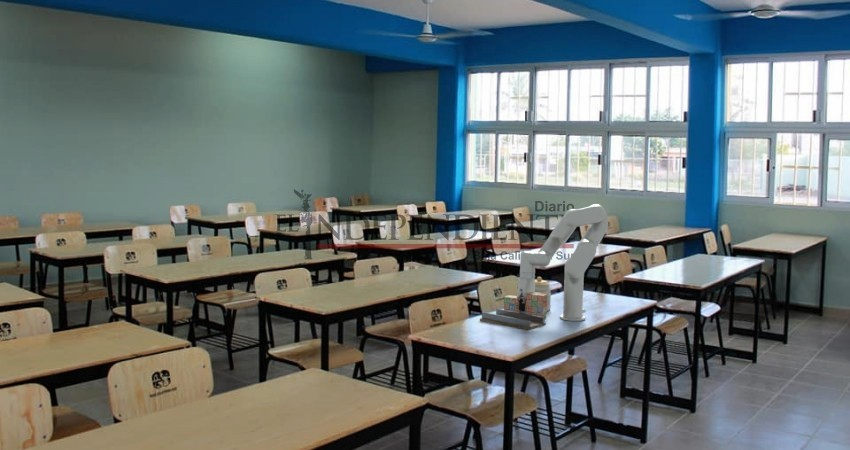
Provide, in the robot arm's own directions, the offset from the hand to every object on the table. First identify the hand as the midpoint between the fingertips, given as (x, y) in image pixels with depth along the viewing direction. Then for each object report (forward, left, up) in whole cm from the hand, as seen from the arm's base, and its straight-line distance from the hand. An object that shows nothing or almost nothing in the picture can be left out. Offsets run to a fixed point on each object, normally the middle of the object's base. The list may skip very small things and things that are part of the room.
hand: (526, 309), depth 387 cm
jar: (-19, -5, -4) cm, 20 cm away
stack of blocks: (0, 0, -4) cm, 4 cm away
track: (+18, +4, -3) cm, 19 cm away
